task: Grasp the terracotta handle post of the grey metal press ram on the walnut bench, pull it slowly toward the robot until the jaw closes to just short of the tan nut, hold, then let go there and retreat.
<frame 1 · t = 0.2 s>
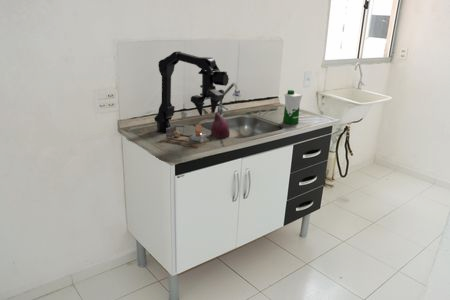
hand: (207, 114, 187), 14 cm above the counter, fingers open, 9 cm apart
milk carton: (290, 122, 231), on the counter
vegetable: (220, 136, 200), on the counter
press bench: (186, 141, 189), on the counter
ram: (198, 133, 184), point 6 cm above the counter, slide at 0.0 cm
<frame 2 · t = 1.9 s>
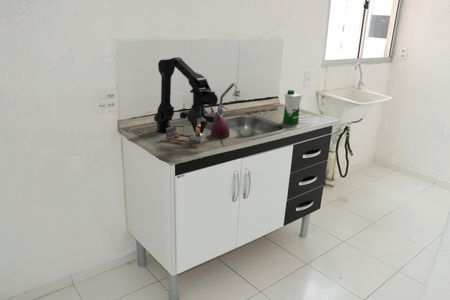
hand: (198, 133, 184), 6 cm above the counter, fingers closed on ram, 3 cm apart
ram: (197, 133, 184), point 6 cm above the counter, slide at 0.0 cm, touching gripper
everything else where it was.
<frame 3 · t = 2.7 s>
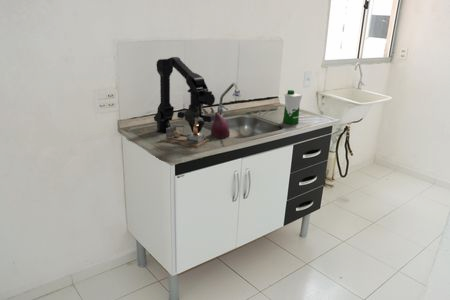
hand: (196, 132, 185), 6 cm above the counter, fingers closed on ram, 3 cm apart
ram: (195, 132, 185), point 6 cm above the counter, slide at 1.4 cm, touching gripper
everything else where it was.
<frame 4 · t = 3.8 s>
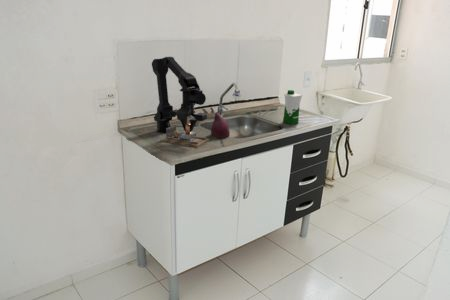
hand: (188, 131, 186), 5 cm above the counter, fingers closed on ram, 3 cm apart
ram: (187, 131, 186), point 6 cm above the counter, slide at 5.9 cm, touching gripper
everything else where it was.
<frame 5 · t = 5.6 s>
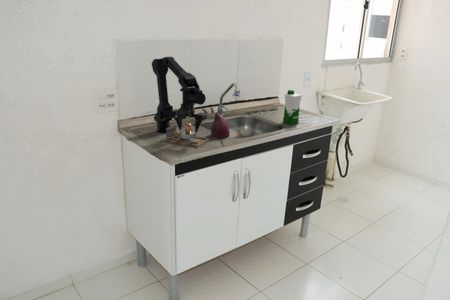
hand: (188, 131, 186), 6 cm above the counter, fingers open, 9 cm apart
ram: (187, 131, 186), point 6 cm above the counter, slide at 5.9 cm
everything else where it was.
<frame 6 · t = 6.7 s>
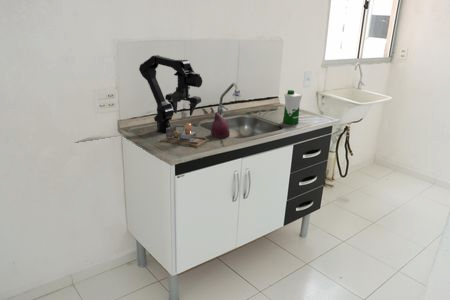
hand: (183, 114, 193), 12 cm above the counter, fingers open, 9 cm apart
nothing on the counter moved.
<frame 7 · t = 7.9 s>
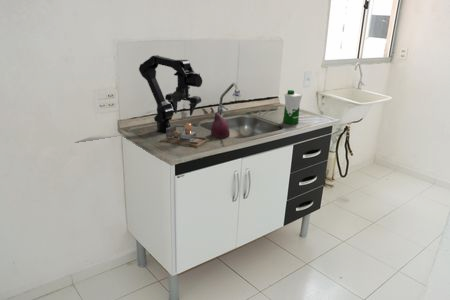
hand: (183, 114, 193), 12 cm above the counter, fingers open, 9 cm apart
nothing on the counter moved.
at the end: ram slide at 5.9 cm; the gripper is holding nothing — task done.
